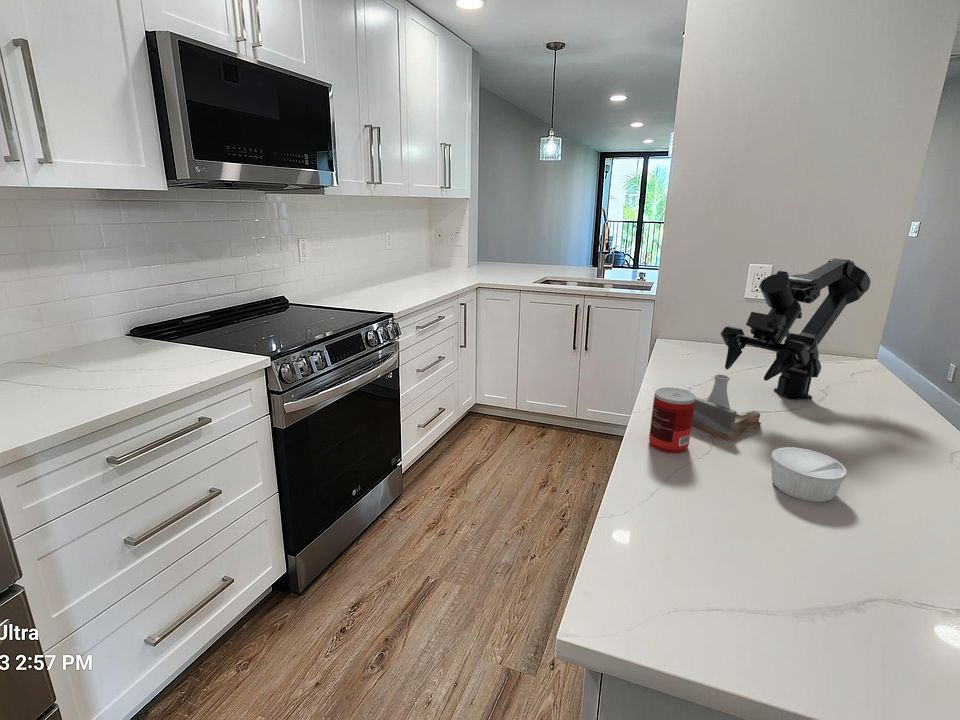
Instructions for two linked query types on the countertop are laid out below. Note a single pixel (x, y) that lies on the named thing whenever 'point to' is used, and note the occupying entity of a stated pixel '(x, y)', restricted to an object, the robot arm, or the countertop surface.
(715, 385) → the flask
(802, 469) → the ramekin
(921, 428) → the countertop surface
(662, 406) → the canned food
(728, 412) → the stand
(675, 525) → the countertop surface
